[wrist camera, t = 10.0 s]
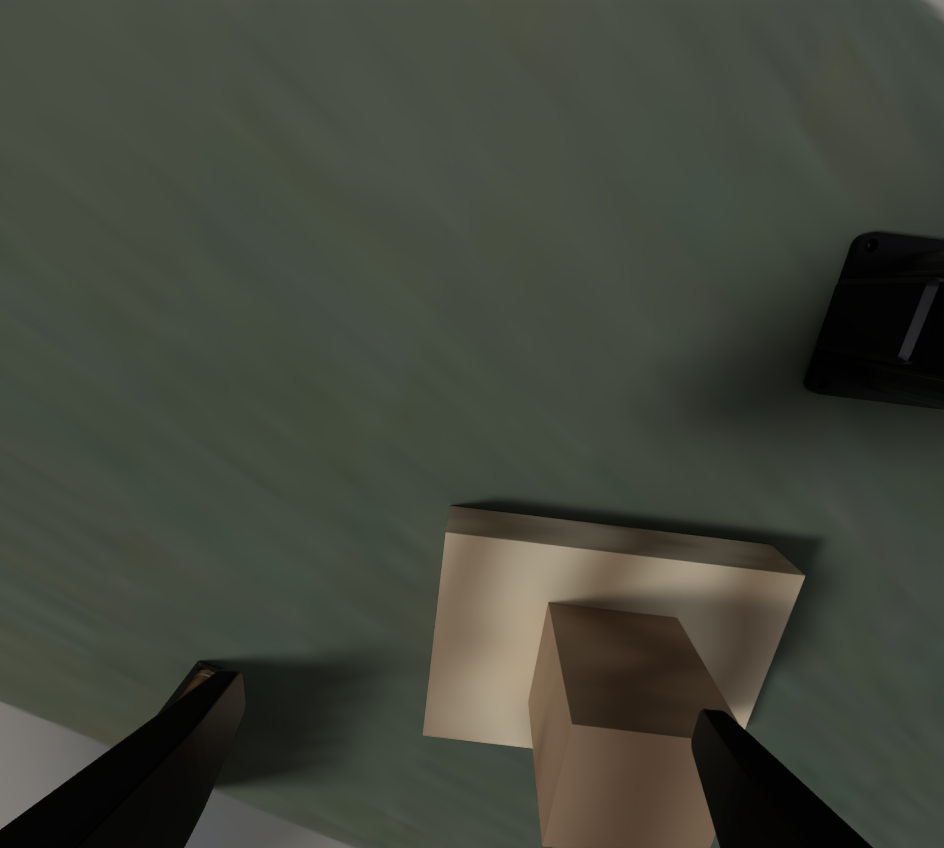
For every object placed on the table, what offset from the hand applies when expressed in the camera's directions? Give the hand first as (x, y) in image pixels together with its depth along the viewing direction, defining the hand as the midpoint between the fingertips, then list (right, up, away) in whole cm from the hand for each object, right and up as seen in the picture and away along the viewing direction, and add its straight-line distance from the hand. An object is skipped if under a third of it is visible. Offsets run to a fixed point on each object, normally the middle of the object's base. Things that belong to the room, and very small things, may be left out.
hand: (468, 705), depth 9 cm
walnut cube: (+6, -6, +13) cm, 15 cm away
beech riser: (+6, -5, +15) cm, 17 cm away
